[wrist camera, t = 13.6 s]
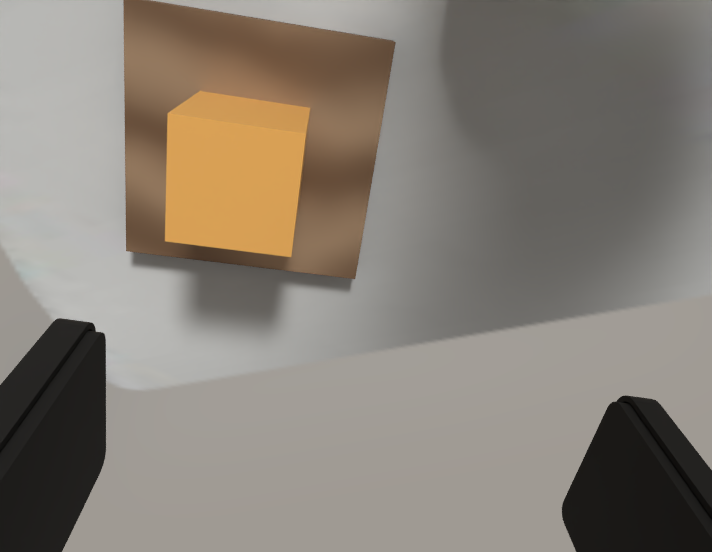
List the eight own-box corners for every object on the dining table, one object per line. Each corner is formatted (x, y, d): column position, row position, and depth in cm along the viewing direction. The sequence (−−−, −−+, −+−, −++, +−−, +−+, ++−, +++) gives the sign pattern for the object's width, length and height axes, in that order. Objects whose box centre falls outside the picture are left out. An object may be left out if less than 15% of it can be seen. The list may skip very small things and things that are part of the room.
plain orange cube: (199, 90, 32) (167, 113, 25) (310, 107, 32) (305, 133, 26) (195, 196, 34) (164, 241, 28) (298, 210, 35) (291, 257, 28)
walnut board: (132, -3, 31) (90, -4, 25) (392, 40, 32) (405, 48, 27) (133, 241, 37) (99, 283, 31) (354, 269, 38) (358, 313, 33)
